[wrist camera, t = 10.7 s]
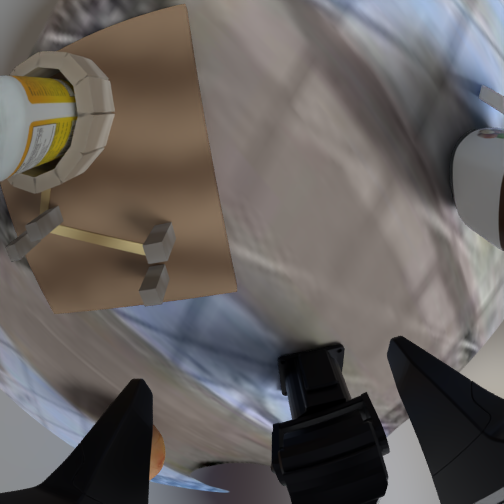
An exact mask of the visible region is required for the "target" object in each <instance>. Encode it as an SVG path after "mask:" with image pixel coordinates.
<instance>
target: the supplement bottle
mask: <svg viewBox="0 0 504 504" xmlns="http://www.w3.org/2000/svg"><path fill="white" fill-rule="evenodd" d="M77 118H78V112H77V106H76V100H75V93H74V86H73V85H72V84H71V83H70V82H69V81H68V80H62V79H52V78H41V77H27V76H8V75H6V76H5V75H4V76H0V182H1V181H3V180H5V179H8V178H10V177H12V176H14V175H17V174H19V173H21V172H24V171H26V170H29V169H31V168H34V167H36V166H39V165H42V164H44V163H47V162H50V161H52V160H55V159H58V158H61V157H63V156H64V155H65V153H66V152H67V151H68V149H69V148H70V147H71V143H72V138H73V134H74V130H75V125H76V121H77Z"/></svg>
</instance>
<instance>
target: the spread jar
mask: <svg viewBox="0 0 504 504" xmlns="http://www.w3.org/2000/svg"><path fill="white" fill-rule="evenodd" d="M479 99H481V100H482V101H484V102H485V103H487V104H488V105H490V106H492V107H493V108H495V109H496V110H498V111H500V112H501V113H503V114H504V96H502V95H500V94H499V93H497V92H495V91H493V90H492V89H490V88H488V87H486V86H484V85H482V86H481V90H480V94H479ZM450 183H451V190H452V195H453V199H454V203H455V206H456V209H457V211H458V214H459V216H460V218H461V219H462V221H463V222H464V223H465V224H466V225H467V226H468V227H469V228H470V229H472V230H473V231H475V232H476V233H477V234H479V235H480V236H482V237H483V238H484V239H486V240H487V241H489V242H490V243H491V244H493V245H494V246H496V247H497V248H499V249H501V250H502V251H504V129H502V128H479V129H474V130H471V131H469V132H467V133H465V134H464V135H463V136H462V137H461V138H460V139H459V140H458V142H457V143H456V145H455V147H454V149H453V152H452V156H451V163H450Z"/></svg>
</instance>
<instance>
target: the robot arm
mask: <svg viewBox="0 0 504 504" xmlns="http://www.w3.org/2000/svg"><path fill="white" fill-rule="evenodd" d="M344 350H345V349H344V347H343V345H341V344H339V345H335V346H330V347H326V348H321V349H316V350H312V351H307V352H302V353H296V354H291V355H286V356H281V357H279V358H278V367H279V374H280V382H281V389H282V394H283V395H284V396H287V395H288V400H289V405H290V411H291V416H292V420H290V421H286V422H282V423H275V424H273V432H272V463H271V471H272V472H273V473H275V474H276V475H277V478H278V480H279V482H280V483H281V484H282V485H283V486H287V489H288V492H289V495H290V498H291V502H292V504H379V502H380V499H381V497H383V496H384V495H385V493H386V489H387V485H388V474H387V470H386V466H385V463H384V460H383V455H386V454H388V453H389V452H390V451H389V445H388V441H387V438H386V435H385V432H384V429H383V427H382V424H381V422H380V420H379V418H378V415H377V413H376V411H375V409H374V407H373V405H372V403H371V400H370V398H369V396H368V394H367V392H366V393H363V394H361V396H358V397H356V398H353V399H351V396H350V393H349V391H348V388H347V385H346V383H345V380H344V377H343V375H342V367H343V359H344ZM387 358H388V361H389V364H390V367H391V370H392V373H393V377H394V380H395V383H396V386H397V389H398V392H399V395H400V397H401V399H402V402H403V404H404V406H405V409H406V411H407V413H408V416H409V418H410V421H411V423H412V425H413V428H414V430H415V433H416V435H417V438H418V440H419V443H420V445H421V448H422V451H423V453H424V456H425V459H426V461H427V464H428V467H429V470H430V473H431V475H432V478H433V482H434V484H435V487H436V490H437V493H438V496H439V500H440V503H441V504H504V399H502V398H500V397H498V396H496V395H494V394H493V393H491V392H489V391H487V390H486V389H484V388H482V387H480V386H479V385H477V384H476V383H474V382H473V381H471V380H470V379H468V378H466V377H465V376H463V375H462V374H460V373H459V372H457V371H456V370H454V369H453V368H451V367H450V366H448V365H447V364H445V363H444V362H442V361H440V360H439V359H437V358H436V357H434V356H433V355H431V354H430V353H428V352H426V351H425V350H423V349H422V348H420V347H419V346H417V345H416V344H414V343H412V342H411V341H409V340H408V339H406V338H405V337H403V336H398V337H394V338H392V339H391V341H390V344H389V348H388V352H387ZM152 437H153V395H152V392H151V390H150V388H149V387H148V385H147V384H146V382H145V381H144V380H143V379H132V380H131V381H130V382H129V383H128V385H127V386H126V387H125V388H124V389H123V391H122V392H121V393H120V394H119V395H118V397H117V398H116V399H115V400H114V402H113V403H112V404H111V405H110V406H109V408H108V409H107V410H106V411H105V413H104V414H103V415H102V416H101V417H100V419H99V420H98V421H97V422H96V424H95V425H94V426H93V427H92V429H91V430H90V431H89V432H88V433H87V435H86V436H85V437H84V438H83V440H82V441H81V443H79V444H78V446H77V447H76V448H75V449H74V451H73V452H72V453H71V454H70V455H69V456H68V458H67V459H66V460H65V461H64V462H63V463H62V464H61V465H60V466H59V467H58V468H57V469H56V470H55V471H54V472H53V473H52V474H51V475H50V476H49V477H48V478H47V479H46V480H45V481H44V482H42V483H41V484H39V485H37V486H35V487H32V488H27V489H23V490H17V491H11V492H5V493H0V504H148V495H149V475H150V460H151V448H152Z"/></svg>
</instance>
